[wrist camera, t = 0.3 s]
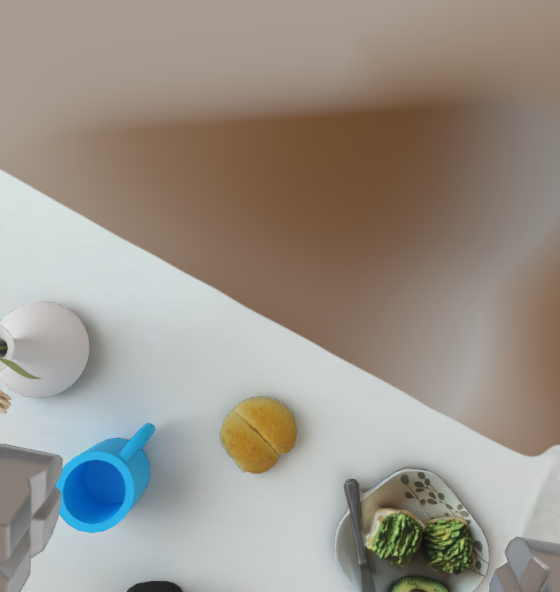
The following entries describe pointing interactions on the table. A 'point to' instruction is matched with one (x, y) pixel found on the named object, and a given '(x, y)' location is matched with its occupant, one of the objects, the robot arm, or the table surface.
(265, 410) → the bread roll
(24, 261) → the table surface
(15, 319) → the flower in vase
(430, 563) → the salad plate
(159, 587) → the sushi
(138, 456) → the mug
